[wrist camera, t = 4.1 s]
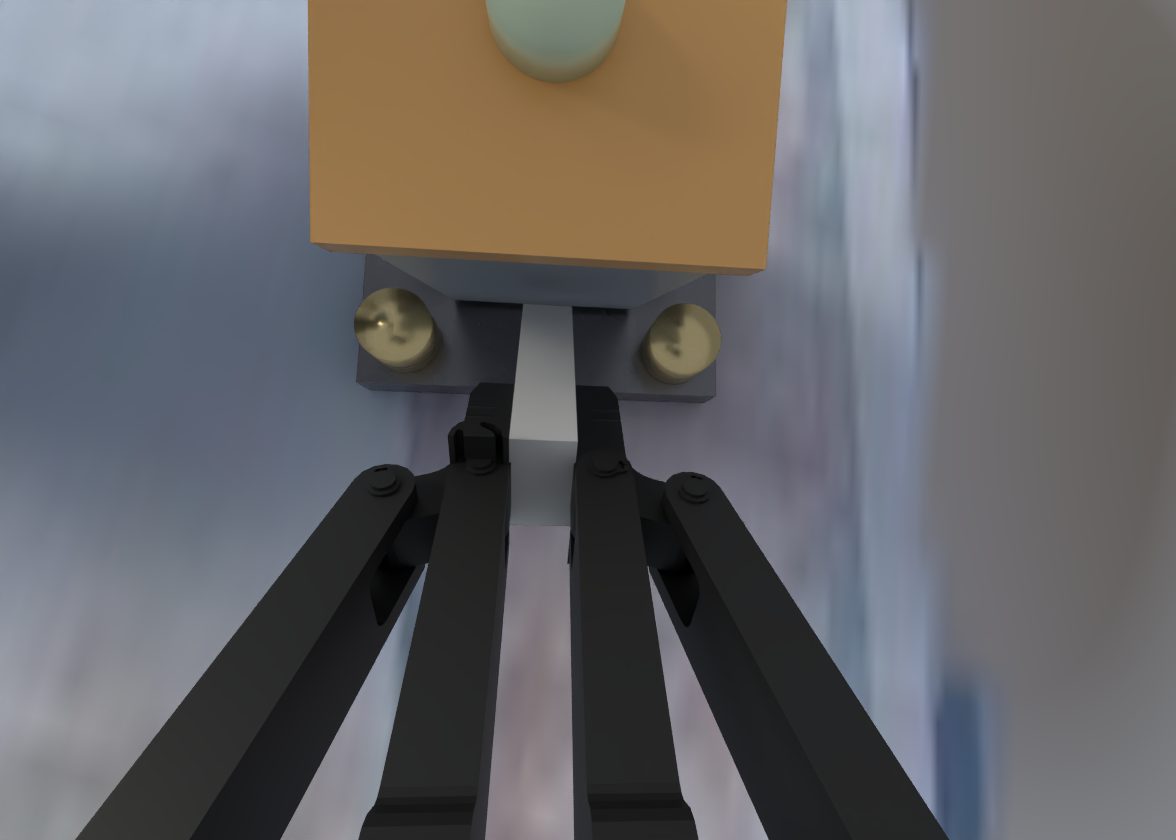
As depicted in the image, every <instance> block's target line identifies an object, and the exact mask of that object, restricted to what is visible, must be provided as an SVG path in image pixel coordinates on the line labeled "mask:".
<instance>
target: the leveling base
mask: <svg viewBox="0 0 1176 840" xmlns="http://www.w3.org/2000/svg"><path fill="white" fill-rule="evenodd" d="M537 305H541V304H537ZM555 306H560V305H555ZM522 312H523V304H522V303H503V302H484V301H465V300H452V299H450V298H449V297H447V296H445V295H444V294H442V293H440V292H438V291H437V290H435V289H433V288H432V287H430V286H428V285H427V284H425V283H423V282H421V281H420V280H418V279H416V278H415V277H413V276H411V275H409V274H408V273H406V272H404V271H403V270H401V269H399V268H398V267H396V266H394V265H392V264H391V263H389V262H387V261H386V260H384V259H382V258H380V257H379V256H377V255H375V254H366V263H365V276H364V289H363V302H362V303H361V305H360V306H359V308H358V310H357V312H356V316H355V321H354V328H355V333H356V336H357V339H358V341H359V353H358V366H357V379H356V382H357V383H359V384H360V385H362V386H364V387H365V388H367V389H368V390H379V391H405V392H431V393H456V394H470V393H471V392H472V391H473V390H474V389H475V388H476V387H477V386H478V384H479V383H480V382H485V383H509V384H515V378H516V368H517V359H518V350H519V340H520V331H521V321H522ZM572 321H573V344H574V367H575V385H585V386H608V387H609V388H610V389H611V390H612V391H613V393H614V394H615V395H616V396H617V398H618V400H636V401H662V402H688V403H704V402H706V401H708V400H710V399H712V398H713V397H715V396H716V378H715V358H716V357H717V355H718V353H719V350H720V347H721V333H720V329H719V326H718V324H717V322H716V320H715V274H706V275H704V276H702V277H699V278H697V279H695V280H693V281H691V282H689V283H687V284H685V285H683V286H680V287H678V288H676V289H674V290H672V291H670V292H668V293H666V294H663V295H661V296H659V297H657V298H655V299H653V300H651V301H649V302H647V303H644V304H642V305H640V306H638V307H636V308H634V309H618V308H599V307H579V306H572Z"/></svg>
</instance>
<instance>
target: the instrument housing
mask: <svg viewBox="0 0 1176 840" xmlns="http://www.w3.org/2000/svg"><path fill="white" fill-rule="evenodd" d="M786 7H787V0H308V55H309V160H310V242H311V243H313V244H315V245H317V246H319V247H322V248H324V249H326V250H328V251H330V252H346V253H363V254H375V255H377V256H379V257H380V258H382V259H384V260H386V261H387V262H389V263H391V264H392V265H394V266H396V267H398V268H399V269H401V270H403V271H404V272H406V273H408V274H409V275H411V276H413V277H415V278H416V279H418V280H420V281H421V282H423V283H425V284H427V285H428V286H430V287H432V288H433V289H435V290H437V291H438V292H440V293H442V294H444V295H445V296H447V297H449V298H450V299H452V300H465V301H484V302H503V303H522V304H541V305H560V306H579V307H599V308H618V309H634V308H636V307H638V306H640V305H642V304H644V303H647V302H649V301H651V300H653V299H655V298H657V297H659V296H661V295H663V294H666V293H668V292H670V291H672V290H674V289H676V288H678V287H680V286H683V285H685V284H687V283H689V282H691V281H693V280H695V279H697V278H699V277H702V276H704V275H706V274H723V275H740V276H749V275H752V274H754V273H757V272H760V271H763V270H765V269H766V262H767V249H768V237H769V224H770V211H771V198H772V186H773V173H774V160H775V147H776V135H777V122H778V109H779V97H780V84H781V71H782V58H783V46H784V33H785V20H786Z"/></svg>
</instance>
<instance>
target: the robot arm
mask: <svg viewBox="0 0 1176 840" xmlns="http://www.w3.org/2000/svg"><path fill="white" fill-rule="evenodd" d="M448 444H449V455H450V464H449V465H448V466H446V467H445V468H443V469H441V470H439V471H436V472H433V473H429V474H425V475H420V476H415V477H414V475H413V474H412V473H411V472H410V471H409V470H408V469H407V468H405V467H402V466H399V465H391V464H384V465H379V466H374V467H372V468H370V469H367V470H365V471H363V472H362V473H361V474H360V475H359V476H357V477H356V478H355V479H354V481H353V482H352V483H351V484H350V486H349V487H348V488H347V490H346V491H345V492H344V493H343V495H342V496H341V497H340V499H339V500H338V501H337V502H336V504H335V505H334V506H333V508H332V509H331V510H330V512H329V513H328V514H327V515H326V517H325V518H324V519H323V521H322V522H321V523H320V524H319V526H318V527H317V528H316V530H315V531H314V532H313V533H312V535H311V536H310V537H309V539H308V540H307V541H306V543H305V544H304V545H303V546H302V548H301V549H300V550H299V552H298V553H297V554H296V555H295V557H294V558H293V559H292V561H291V562H290V563H289V564H288V566H287V567H286V568H285V570H284V571H283V572H282V574H281V575H280V576H279V577H278V579H277V580H276V581H275V583H274V584H273V585H272V586H271V588H270V589H269V590H268V592H267V593H266V594H265V595H264V597H263V598H262V599H261V601H260V602H259V603H258V604H257V606H256V607H255V608H254V610H253V611H252V612H251V614H250V615H249V616H248V617H247V619H246V620H245V621H244V623H243V624H242V625H241V626H240V628H239V629H238V630H237V632H236V633H235V634H234V635H233V637H232V638H231V639H230V641H229V642H228V643H227V645H226V646H225V647H224V648H223V650H222V651H221V652H220V654H219V655H218V656H217V657H216V659H215V660H214V661H213V663H212V664H211V665H210V666H209V668H208V669H207V670H206V672H205V673H204V674H203V676H202V677H201V678H200V679H199V681H198V682H197V683H196V685H195V686H194V687H193V688H192V690H191V691H190V692H189V694H188V695H187V696H186V697H185V699H184V700H183V701H182V703H181V704H180V705H179V706H178V708H177V709H176V710H175V712H174V713H173V714H172V716H171V717H170V718H169V719H168V721H167V722H166V723H165V725H164V726H163V727H162V728H161V730H160V731H159V732H158V734H157V735H156V736H155V737H154V739H153V740H152V741H151V743H150V744H149V745H148V747H147V748H146V749H145V750H144V752H143V753H142V754H141V756H140V757H139V758H138V759H137V761H136V762H135V763H134V765H133V766H132V767H131V768H130V770H129V771H128V772H127V774H126V775H125V776H124V778H123V779H122V780H121V781H120V783H119V784H118V785H117V787H116V788H115V789H114V790H113V792H112V793H111V794H110V796H109V797H108V798H107V799H106V801H105V802H104V803H103V805H102V806H101V807H100V808H99V810H98V811H97V812H96V814H95V815H94V816H93V818H92V819H91V820H90V821H89V823H88V824H87V825H86V827H85V828H84V829H83V830H82V832H81V833H80V834H79V836H78V837H77V838H76V839H75V840H280V839H281V837H282V835H283V833H284V832H285V830H286V828H287V826H288V824H289V822H290V820H291V818H292V816H293V815H294V813H295V811H296V809H297V807H298V805H299V803H300V801H301V800H302V798H303V796H304V794H305V792H306V790H307V788H308V786H309V785H310V783H311V781H312V779H313V777H314V775H315V773H316V771H317V769H318V768H319V766H320V764H321V762H322V760H323V758H324V756H325V754H326V753H327V751H328V749H329V747H330V745H331V743H332V741H333V739H334V738H335V736H336V734H337V732H338V730H339V728H340V726H341V724H342V722H343V721H344V719H345V717H346V715H347V713H348V711H349V709H350V707H351V706H352V704H353V702H354V700H355V698H356V696H357V694H358V692H359V691H360V689H361V687H362V685H363V683H364V681H365V679H366V677H367V675H368V674H369V672H370V670H371V668H372V666H373V664H374V662H375V660H376V659H377V657H378V655H379V653H380V651H381V649H382V647H383V645H384V643H385V642H386V640H387V638H388V636H389V634H390V632H391V630H392V628H393V627H394V625H395V623H396V621H397V619H398V617H399V615H400V613H401V612H402V610H403V608H404V606H405V604H406V602H407V600H408V598H409V596H410V595H411V593H412V591H413V589H414V587H415V585H416V583H417V581H418V580H419V578H420V576H421V574H422V572H423V570H424V568H425V564H426V563H429V564H428V569H427V573H426V578H425V582H424V587H423V592H422V596H421V601H420V605H419V610H418V615H417V619H416V624H415V628H414V633H413V638H412V642H411V647H410V651H409V656H408V661H407V665H406V670H405V674H404V679H403V684H402V688H401V693H400V697H399V702H398V707H397V711H396V716H395V720H394V725H393V730H392V734H391V739H390V743H389V748H388V753H387V757H386V762H385V766H384V771H383V776H382V780H381V785H380V789H379V793H378V797H377V800H376V802H375V805H374V806H373V807H372V809H371V810H370V811H369V812H368V814H367V815H366V818H365V820H364V823H363V825H362V828H361V832H360V836H359V839H358V840H485V832H486V820H487V808H488V796H489V784H490V772H491V759H492V747H493V735H494V723H495V711H496V699H497V686H498V674H499V662H500V650H501V638H502V626H503V613H504V601H505V589H506V577H507V565H508V553H509V526H510V525H543V526H570V525H571V529H570V540H569V552H568V563H567V564H570V618H571V677H572V737H573V796H574V840H698V835H697V830H696V825H695V820H694V817H693V814H692V812H691V809H690V807H689V806H688V805H687V803H686V802H685V801H684V799H683V796H682V793H681V788H680V783H679V776H678V769H677V763H676V756H675V749H674V743H673V736H672V729H671V722H670V716H669V709H668V702H667V696H666V689H665V682H664V675H663V669H662V662H661V655H660V649H659V642H658V635H657V628H656V622H655V615H654V608H653V602H652V595H651V588H650V581H649V575H648V568H647V566H649V571H650V574H651V576H652V578H653V580H654V583H655V585H656V587H657V589H658V592H659V594H660V596H661V598H662V601H663V603H664V605H665V607H666V610H667V612H668V614H669V616H670V619H671V621H672V623H673V625H674V628H675V630H676V632H677V634H678V637H679V639H680V641H681V643H682V646H683V648H684V650H685V652H686V655H687V657H688V659H689V661H690V664H691V666H692V668H693V670H694V673H695V675H696V677H697V679H698V682H699V684H700V686H701V688H702V691H703V693H704V695H705V697H706V700H707V702H708V704H709V706H710V709H711V711H712V713H713V715H714V718H715V720H716V722H717V724H718V727H719V729H720V731H721V733H722V736H723V738H724V740H725V742H726V744H727V747H728V749H729V751H730V753H731V756H732V758H733V760H734V762H735V765H736V767H737V769H738V771H739V774H740V776H741V778H742V780H743V783H744V785H745V787H746V789H747V792H748V794H749V796H750V798H751V801H752V803H753V805H754V807H755V810H756V812H757V814H758V816H759V819H760V821H761V823H762V825H763V828H764V830H765V832H766V834H767V837H768V839H769V840H949V839H948V837H947V836H946V834H945V833H944V831H943V830H942V828H941V826H940V825H939V823H938V822H937V820H936V819H935V817H934V816H933V814H932V813H931V811H930V810H929V808H928V806H927V805H926V803H925V802H924V800H923V799H922V797H921V796H920V794H919V793H918V791H917V790H916V788H915V786H914V785H913V783H912V782H911V780H910V779H909V777H908V776H907V774H906V773H905V771H904V770H903V768H902V766H901V765H900V763H899V762H898V760H897V759H896V757H895V756H894V754H893V753H892V751H891V750H890V748H889V746H888V745H887V743H886V742H885V740H884V739H883V737H882V736H881V734H880V733H879V731H878V730H877V728H876V726H875V725H874V723H873V722H872V720H871V719H870V717H869V716H868V714H867V713H866V711H865V710H864V708H863V706H862V705H861V703H860V702H859V700H858V699H857V697H856V696H855V694H854V693H853V691H852V690H851V688H850V686H849V685H848V683H847V682H846V680H845V679H844V677H843V676H842V674H841V673H840V671H839V670H838V668H837V666H836V665H835V663H834V662H833V660H832V659H831V657H830V656H829V654H828V653H827V651H826V650H825V648H824V646H823V645H822V643H821V642H820V640H819V639H818V637H817V636H816V634H815V633H814V631H813V630H812V628H811V626H810V625H809V623H808V622H807V620H806V619H805V617H804V616H803V614H802V613H801V611H800V610H799V608H798V606H797V605H796V603H795V602H794V600H793V599H792V597H791V596H790V594H789V593H788V591H787V590H786V588H785V586H784V585H783V583H782V582H781V580H780V579H779V577H778V576H777V574H776V573H775V571H774V570H773V568H772V566H771V565H770V563H769V562H768V560H767V559H766V557H765V556H764V554H763V553H762V551H761V550H760V548H759V546H758V545H757V543H756V542H755V540H754V539H753V537H752V536H751V534H750V533H749V531H748V530H747V528H746V526H745V525H744V523H743V522H742V520H741V519H740V517H739V516H738V514H737V513H736V511H735V510H734V508H733V506H732V505H731V503H730V502H729V500H728V499H727V497H726V496H725V494H724V493H723V491H722V490H721V488H720V487H719V486H718V485H717V484H716V483H715V482H714V481H713V480H712V479H710V478H708V477H706V476H705V475H702V474H698V473H694V472H681V473H678V474H675V475H673V476H671V477H670V478H669V479H668V480H667V482H666V483H665V482H662V481H658V480H654V479H651V478H648V477H646V476H643V475H642V474H640V473H638V472H637V471H635V470H634V469H633V468H632V466H631V464H630V462H629V461H628V460H627V458H626V455H625V447H624V440H623V433H622V426H621V422H620V412H619V405H618V398H617V396H616V395H615V394H614V393H613V391H612V390H611V389H610V388H609V387H608V386H585V385H575V367H574V344H573V321H572V306H555V305H537V304H523V312H522V321H521V331H520V340H519V350H518V359H517V368H516V378H515V384H509V383H485V382H480V383H479V384H478V386H477V387H476V388H475V389H474V390H473V391H472V392H471V393H470V398H469V403H468V408H467V412H466V417H465V421H463V422H460V423H458V424H457V425H456V426H454V427H453V428H452V429H451V431H450V432H449V434H448Z"/></svg>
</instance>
